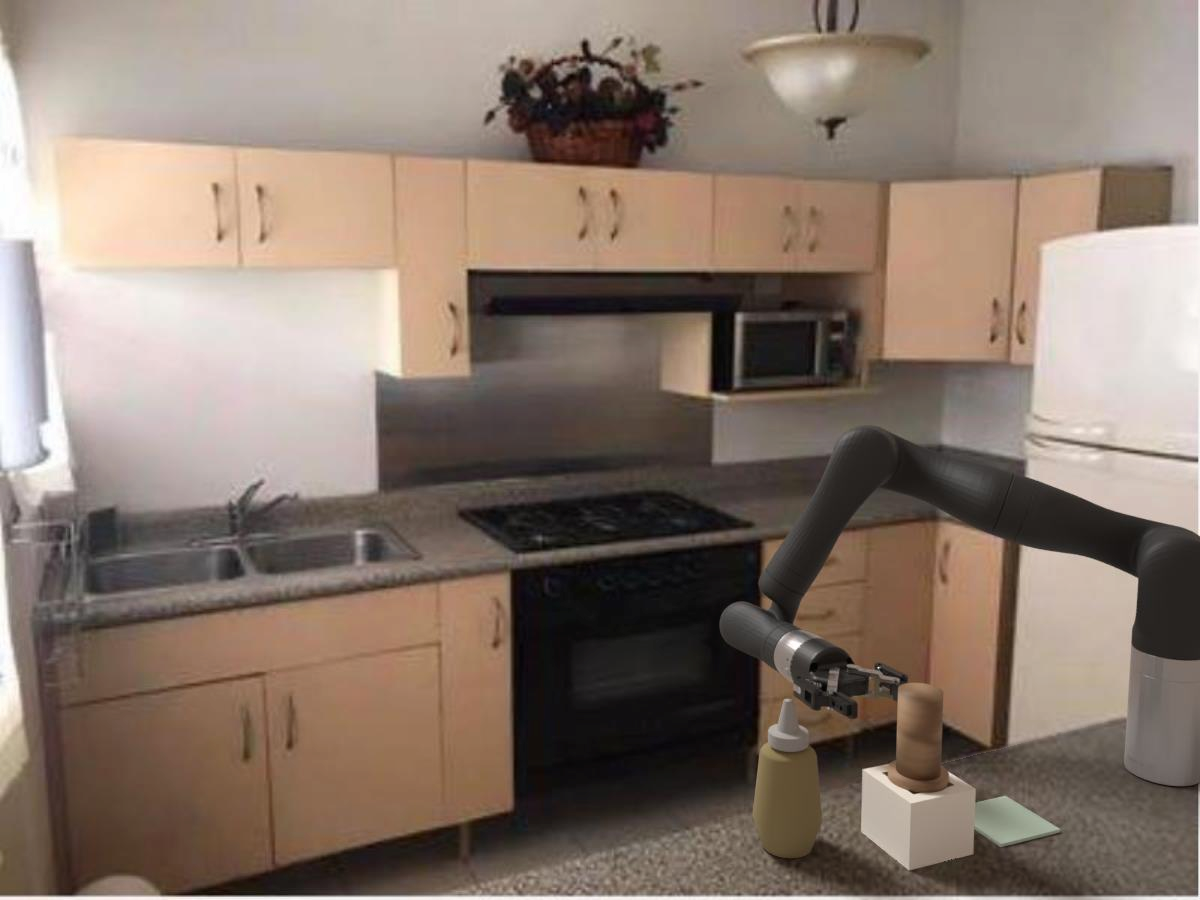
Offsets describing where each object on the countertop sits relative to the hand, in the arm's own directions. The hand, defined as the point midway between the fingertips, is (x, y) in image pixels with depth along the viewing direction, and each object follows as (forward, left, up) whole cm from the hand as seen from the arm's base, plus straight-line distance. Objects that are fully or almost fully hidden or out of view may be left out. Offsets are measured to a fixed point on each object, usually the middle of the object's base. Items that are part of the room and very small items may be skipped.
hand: (885, 706), depth 120 cm
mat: (-13, +7, -14) cm, 20 cm away
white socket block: (0, +7, -14) cm, 16 cm away
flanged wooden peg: (0, +7, -8) cm, 10 cm away
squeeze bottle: (+15, +2, -15) cm, 21 cm away
